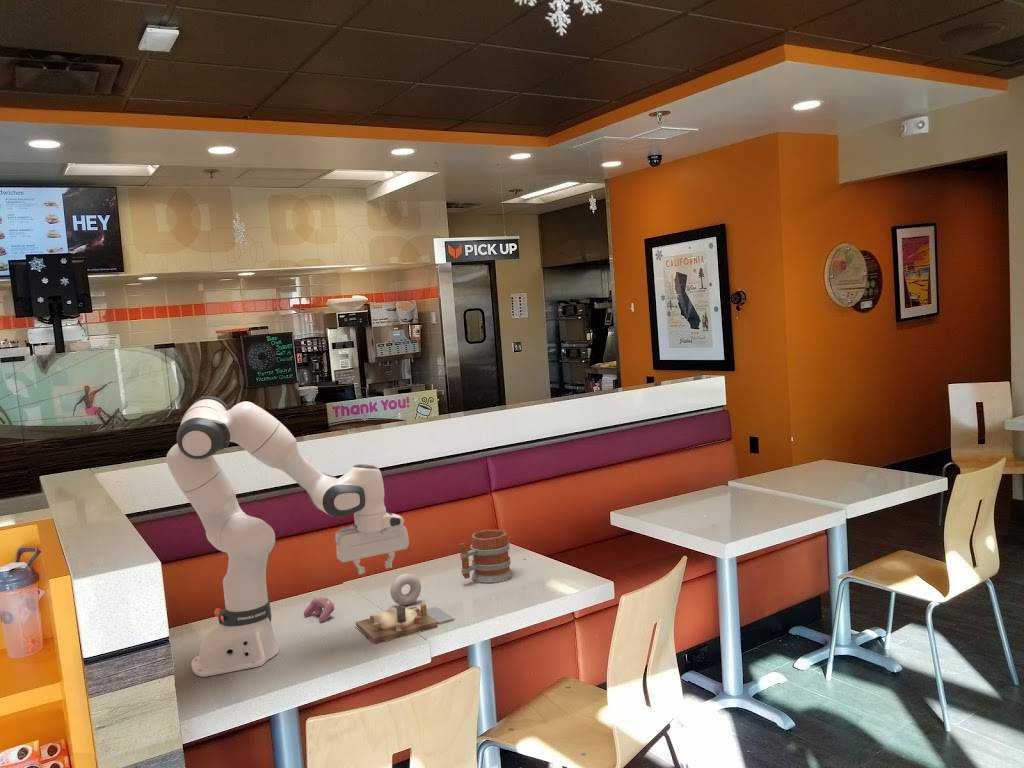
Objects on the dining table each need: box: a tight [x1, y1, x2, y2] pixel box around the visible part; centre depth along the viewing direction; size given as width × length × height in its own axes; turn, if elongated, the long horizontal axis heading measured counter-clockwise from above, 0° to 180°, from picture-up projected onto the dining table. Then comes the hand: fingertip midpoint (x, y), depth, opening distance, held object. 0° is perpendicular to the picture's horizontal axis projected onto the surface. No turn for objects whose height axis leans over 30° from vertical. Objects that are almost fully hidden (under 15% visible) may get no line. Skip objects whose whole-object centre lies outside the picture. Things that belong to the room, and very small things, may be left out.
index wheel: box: [369, 605, 422, 631], centre depth 233 cm, size 15×15×6 cm
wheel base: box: [355, 603, 439, 644], centre depth 233 cm, size 19×16×4 cm
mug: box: [459, 529, 513, 584], centre depth 271 cm, size 14×19×15 cm
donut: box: [390, 572, 422, 606], centre depth 251 cm, size 10×4×10 cm, turn 120°
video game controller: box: [303, 596, 335, 623], centre depth 246 cm, size 10×5×7 cm, turn 47°
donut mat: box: [426, 606, 455, 625], centre depth 240 cm, size 5×13×1 cm, turn 29°
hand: (375, 570), depth 224 cm, fingers open, 6 cm apart
